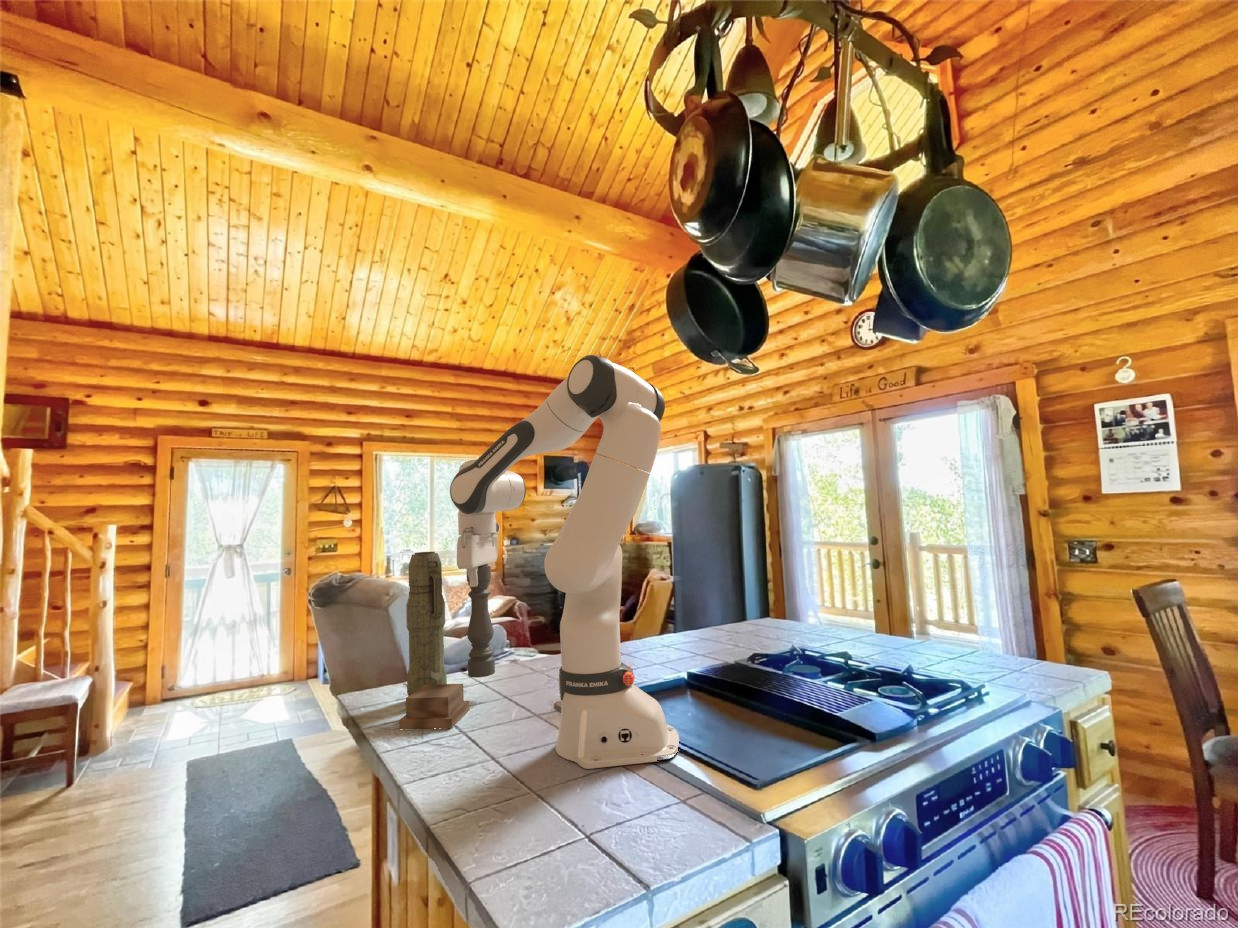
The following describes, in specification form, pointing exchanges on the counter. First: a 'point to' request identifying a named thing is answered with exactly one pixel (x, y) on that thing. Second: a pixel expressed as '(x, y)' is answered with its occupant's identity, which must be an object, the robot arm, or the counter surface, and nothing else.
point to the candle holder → (480, 627)
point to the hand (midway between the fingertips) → (479, 584)
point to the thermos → (425, 622)
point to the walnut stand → (435, 707)
